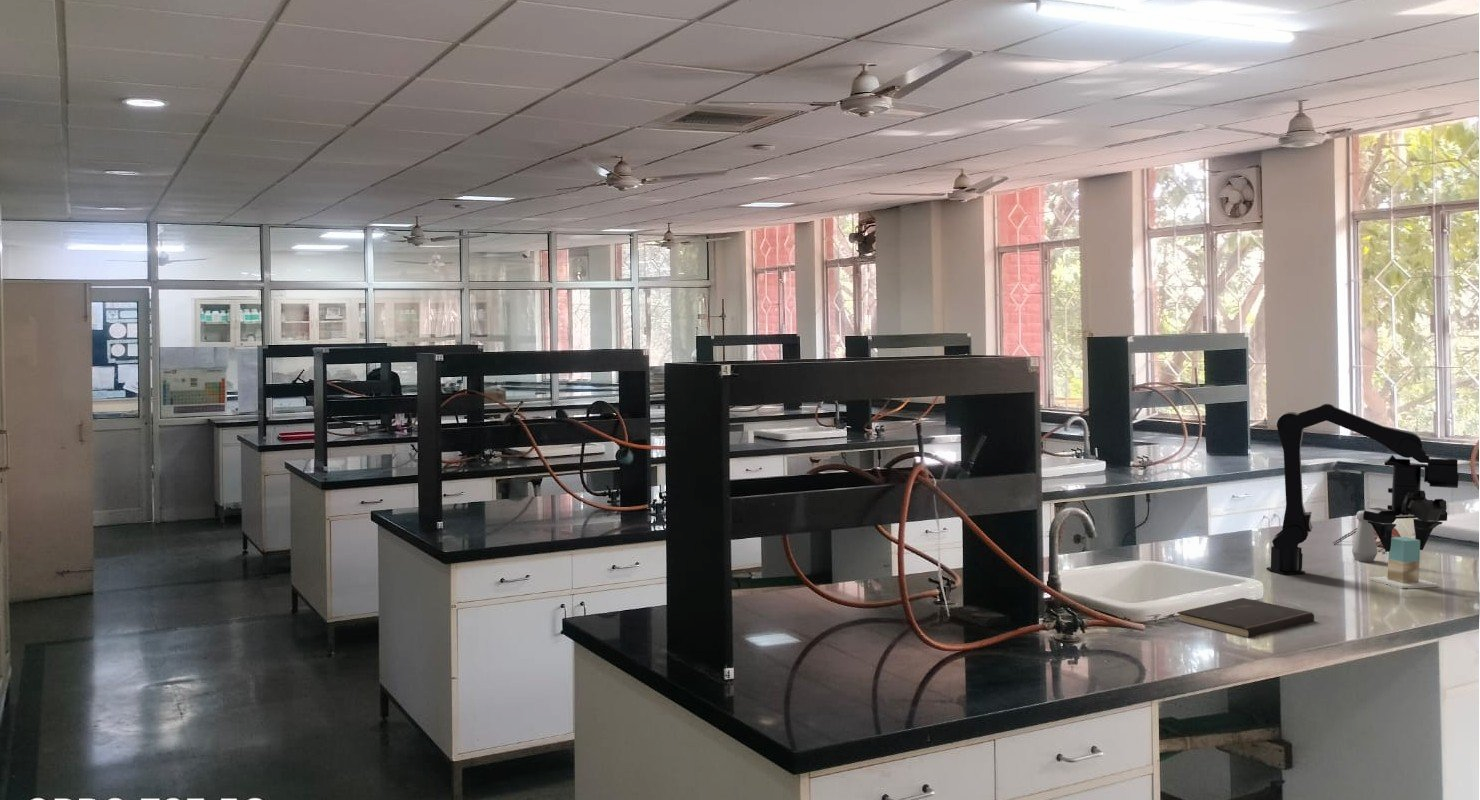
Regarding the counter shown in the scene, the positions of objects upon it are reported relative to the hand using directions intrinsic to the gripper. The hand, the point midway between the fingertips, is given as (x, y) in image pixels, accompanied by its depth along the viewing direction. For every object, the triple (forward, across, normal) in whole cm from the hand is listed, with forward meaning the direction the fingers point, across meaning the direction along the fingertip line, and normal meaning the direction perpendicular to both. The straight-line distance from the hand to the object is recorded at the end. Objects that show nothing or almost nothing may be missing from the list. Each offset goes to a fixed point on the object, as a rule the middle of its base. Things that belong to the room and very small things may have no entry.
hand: (1404, 550), depth 265 cm
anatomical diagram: (+9, +30, +38) cm, 49 cm away
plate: (+8, 0, 0) cm, 8 cm away
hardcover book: (+9, -60, -23) cm, 64 cm away
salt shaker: (+8, +12, +25) cm, 29 cm away
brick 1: (+2, 0, 0) cm, 2 cm away
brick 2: (+7, 0, 0) cm, 7 cm away
